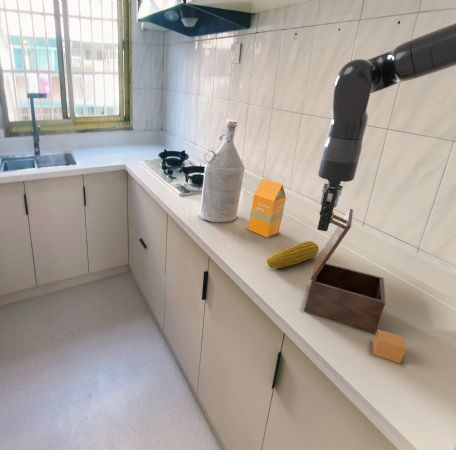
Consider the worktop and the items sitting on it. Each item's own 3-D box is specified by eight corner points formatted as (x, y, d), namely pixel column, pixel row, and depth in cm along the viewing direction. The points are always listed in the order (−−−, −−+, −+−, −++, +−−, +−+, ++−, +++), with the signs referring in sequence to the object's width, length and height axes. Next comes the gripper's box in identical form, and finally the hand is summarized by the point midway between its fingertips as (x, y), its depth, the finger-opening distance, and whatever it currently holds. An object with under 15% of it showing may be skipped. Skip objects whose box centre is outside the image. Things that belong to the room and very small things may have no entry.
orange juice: (259, 224, 137) (268, 177, 129) (279, 232, 130) (289, 182, 122) (247, 229, 132) (255, 180, 124) (267, 237, 126) (276, 186, 118)
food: (304, 252, 116) (308, 236, 114) (318, 259, 112) (323, 243, 109) (261, 266, 106) (264, 250, 104) (275, 275, 102) (279, 258, 99)
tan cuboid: (398, 351, 74) (404, 337, 73) (400, 363, 71) (406, 349, 70) (372, 342, 77) (378, 329, 75) (372, 354, 73) (378, 339, 72)
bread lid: (353, 209, 84) (333, 200, 86) (351, 226, 74) (328, 216, 76) (319, 259, 93) (301, 250, 94) (313, 281, 83) (294, 270, 84)
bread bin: (373, 305, 90) (383, 277, 86) (373, 333, 80) (385, 303, 76) (310, 287, 97) (317, 260, 93) (303, 310, 86) (311, 281, 83)
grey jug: (192, 213, 145) (200, 117, 129) (227, 210, 151) (240, 117, 135) (205, 225, 134) (216, 121, 118) (243, 221, 140) (258, 121, 124)
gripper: (358, 166, 69) (338, 240, 76) (359, 154, 80) (342, 220, 87) (318, 161, 72) (302, 233, 79) (325, 150, 84) (311, 214, 91)
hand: (323, 225), depth 83 cm, fingers closed on bread lid, 5 cm apart
